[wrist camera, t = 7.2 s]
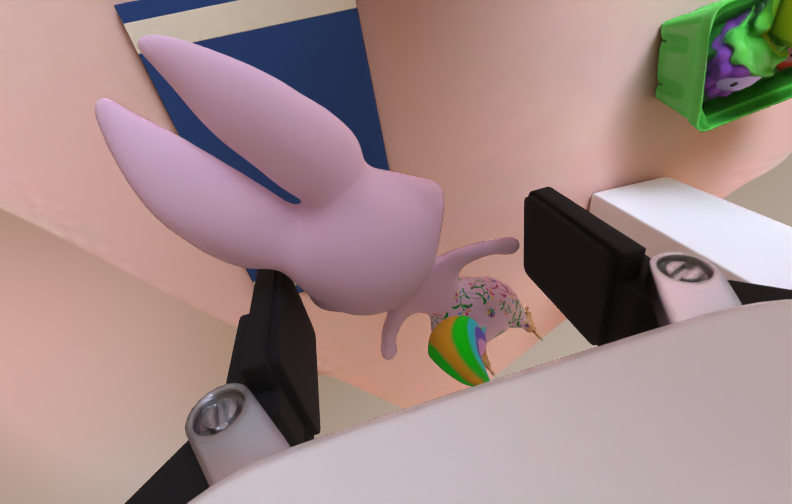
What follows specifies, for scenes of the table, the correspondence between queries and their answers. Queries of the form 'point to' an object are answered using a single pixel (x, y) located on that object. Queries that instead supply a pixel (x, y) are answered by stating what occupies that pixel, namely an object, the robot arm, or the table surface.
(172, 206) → the rabbit figure
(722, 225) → the milk carton
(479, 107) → the table surface
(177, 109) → the cloth
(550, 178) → the table surface
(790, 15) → the fruit basket
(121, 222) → the table surface
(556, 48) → the table surface
